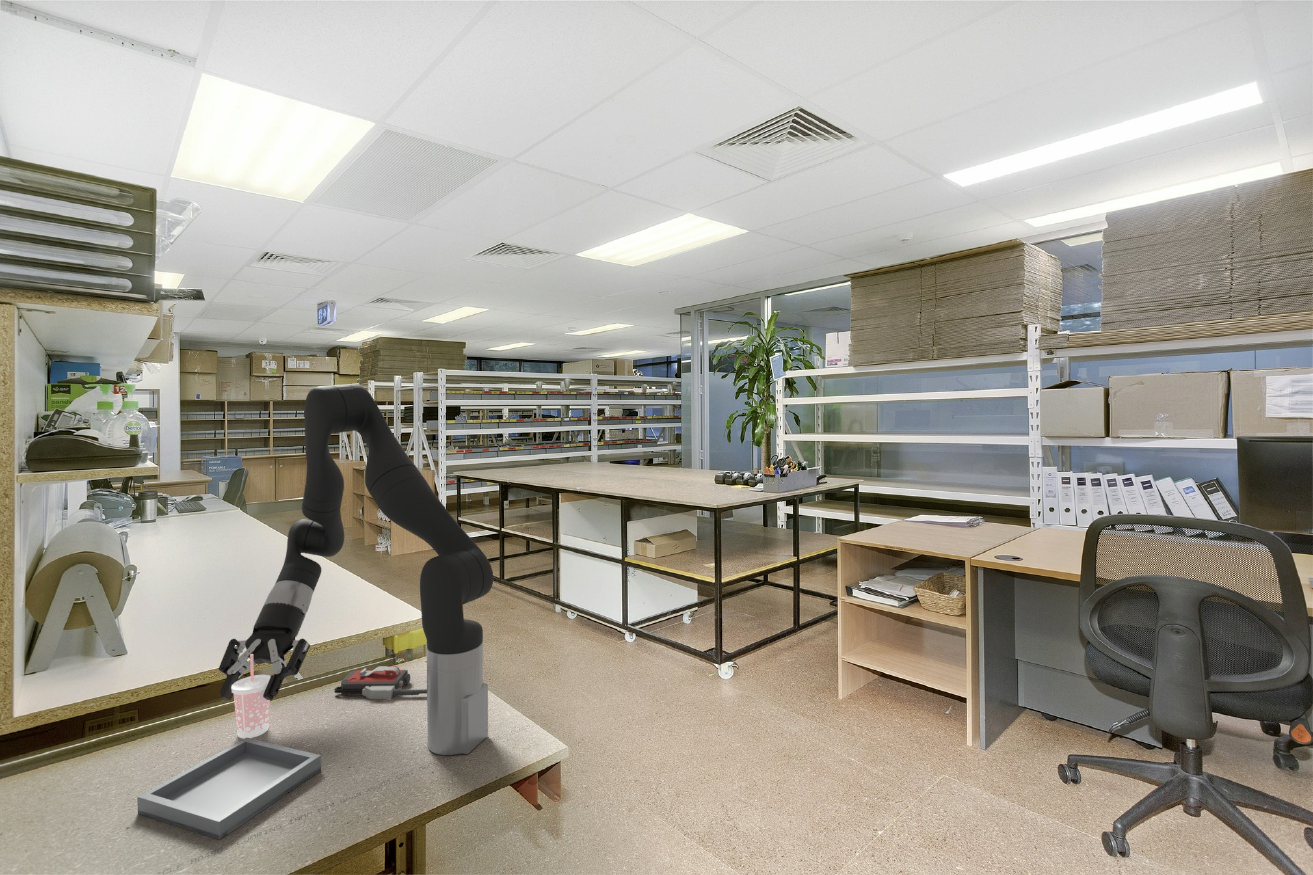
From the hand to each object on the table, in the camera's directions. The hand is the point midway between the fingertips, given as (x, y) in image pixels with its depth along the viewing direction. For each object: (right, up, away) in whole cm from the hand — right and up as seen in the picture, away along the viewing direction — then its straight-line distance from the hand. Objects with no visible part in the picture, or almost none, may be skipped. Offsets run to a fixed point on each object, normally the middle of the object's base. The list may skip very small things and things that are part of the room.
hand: (246, 698), depth 103 cm
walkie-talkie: (+17, -7, +18) cm, 26 cm away
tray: (+8, -8, -14) cm, 18 cm away
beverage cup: (0, -7, +2) cm, 7 cm away
